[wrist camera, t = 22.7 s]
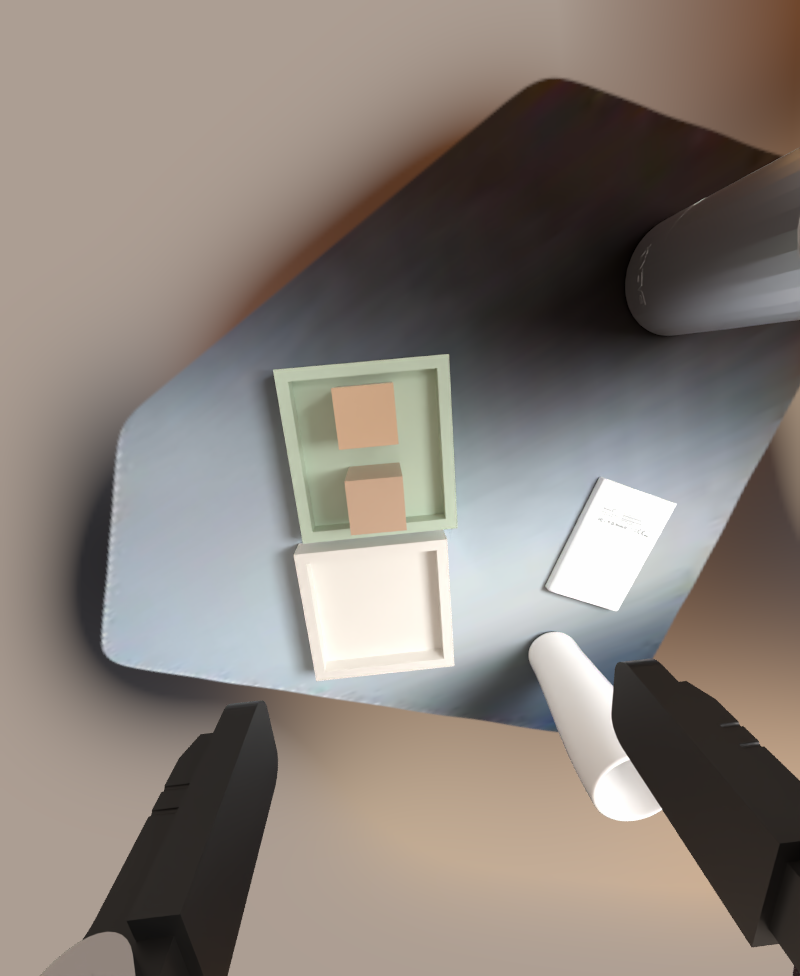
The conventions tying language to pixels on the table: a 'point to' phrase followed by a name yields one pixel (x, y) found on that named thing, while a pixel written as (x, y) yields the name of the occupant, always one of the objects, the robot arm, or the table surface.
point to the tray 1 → (418, 451)
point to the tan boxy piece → (365, 415)
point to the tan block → (375, 498)
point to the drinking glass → (589, 727)
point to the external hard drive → (609, 544)
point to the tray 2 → (377, 604)
